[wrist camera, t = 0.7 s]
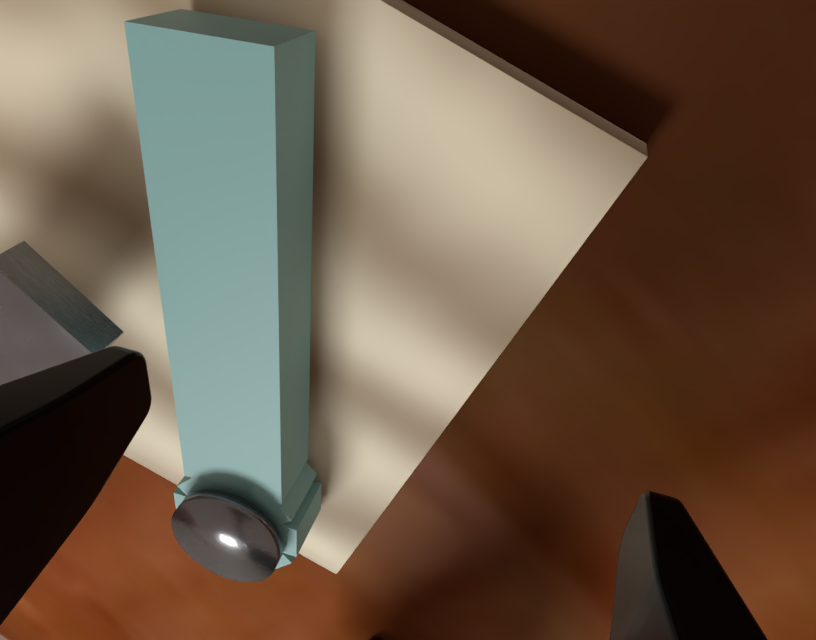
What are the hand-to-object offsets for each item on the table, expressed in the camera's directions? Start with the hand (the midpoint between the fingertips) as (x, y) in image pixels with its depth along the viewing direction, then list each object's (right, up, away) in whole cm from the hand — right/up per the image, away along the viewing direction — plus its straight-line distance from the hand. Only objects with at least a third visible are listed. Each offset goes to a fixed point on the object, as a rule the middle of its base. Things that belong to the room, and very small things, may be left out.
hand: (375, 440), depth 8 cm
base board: (-8, +4, +16) cm, 19 cm away
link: (-5, +1, +15) cm, 16 cm away
